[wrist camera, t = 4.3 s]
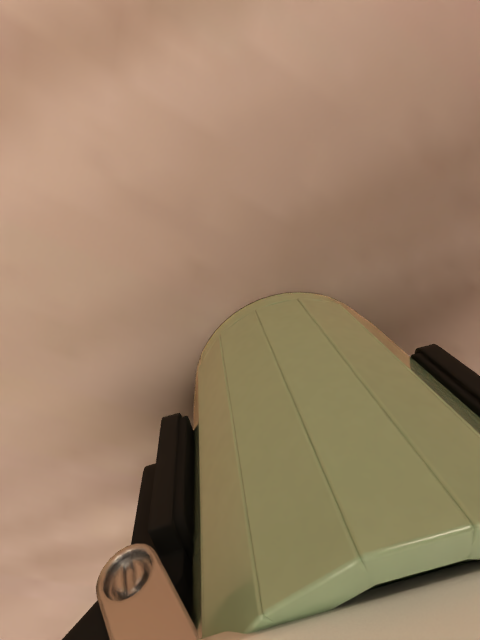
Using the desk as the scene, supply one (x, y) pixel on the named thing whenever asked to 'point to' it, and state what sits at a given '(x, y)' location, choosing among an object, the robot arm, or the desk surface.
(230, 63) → the desk surface
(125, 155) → the desk surface
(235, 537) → the pot
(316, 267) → the desk surface
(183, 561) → the robot arm
